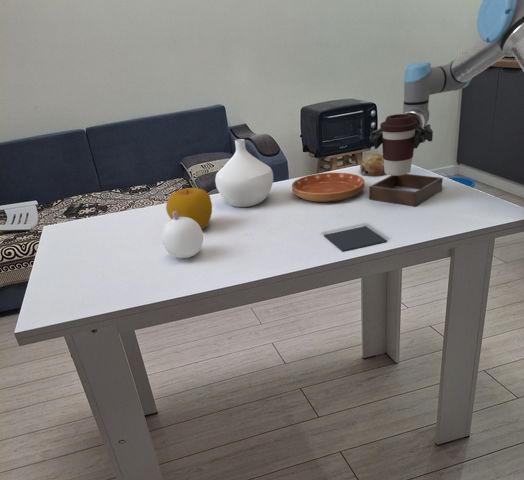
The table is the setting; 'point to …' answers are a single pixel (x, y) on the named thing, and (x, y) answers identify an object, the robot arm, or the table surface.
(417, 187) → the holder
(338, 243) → the mat
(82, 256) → the table surface
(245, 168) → the vase
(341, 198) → the saucer
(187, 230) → the ornament
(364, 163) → the bread roll
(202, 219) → the apple
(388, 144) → the coffee cup
